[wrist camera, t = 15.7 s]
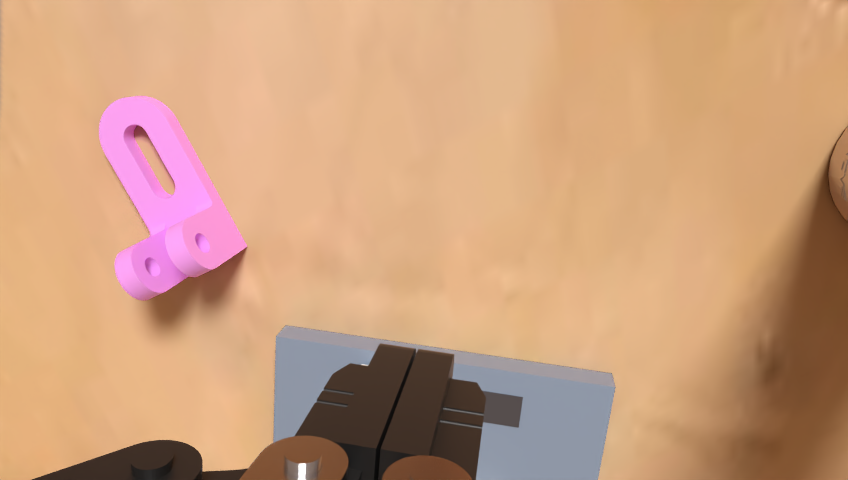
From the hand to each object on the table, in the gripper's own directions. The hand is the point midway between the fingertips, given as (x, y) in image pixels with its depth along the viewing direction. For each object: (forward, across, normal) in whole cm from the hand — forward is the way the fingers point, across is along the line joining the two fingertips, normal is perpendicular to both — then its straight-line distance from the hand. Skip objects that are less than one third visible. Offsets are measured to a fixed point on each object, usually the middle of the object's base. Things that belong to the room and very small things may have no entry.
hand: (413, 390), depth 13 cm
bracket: (+32, +23, +5) cm, 40 cm away
